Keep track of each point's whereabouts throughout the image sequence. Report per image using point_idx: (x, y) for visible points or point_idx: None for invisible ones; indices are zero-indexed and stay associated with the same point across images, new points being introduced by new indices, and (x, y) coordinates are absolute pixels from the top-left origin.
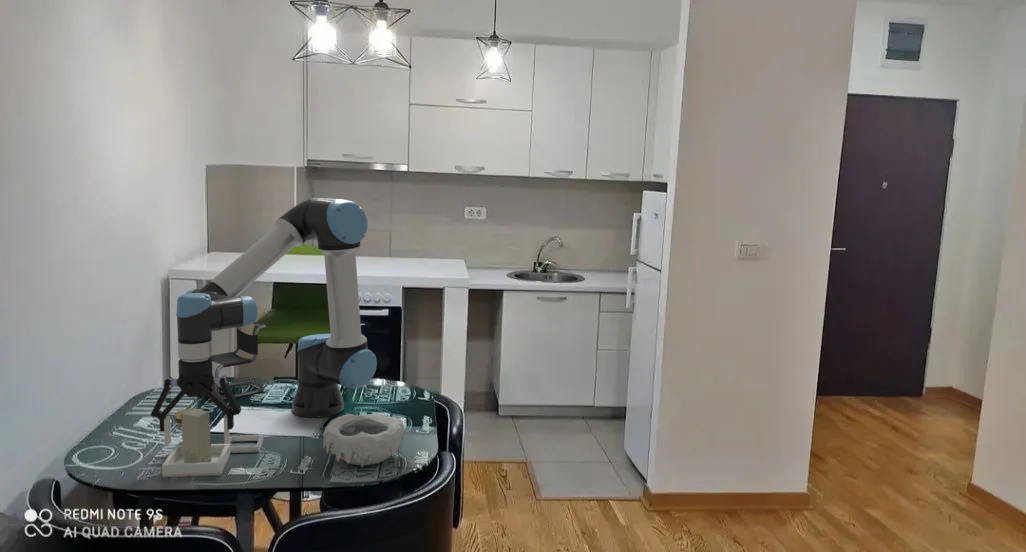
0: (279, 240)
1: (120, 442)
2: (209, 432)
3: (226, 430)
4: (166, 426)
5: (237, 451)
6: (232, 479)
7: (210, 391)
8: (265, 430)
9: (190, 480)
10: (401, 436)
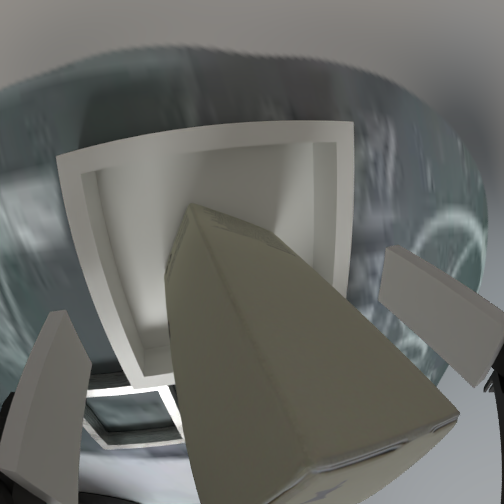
0: None
1: (428, 352)
2: (176, 378)
3: (25, 376)
4: (472, 301)
5: (120, 375)
6: (23, 120)
7: None
8: (138, 468)
9: (196, 85)
10: None
